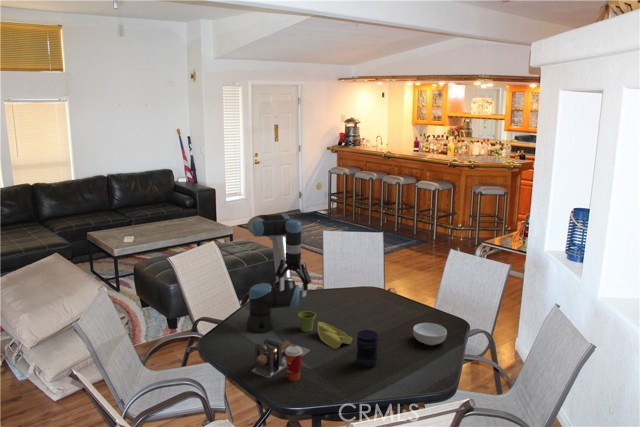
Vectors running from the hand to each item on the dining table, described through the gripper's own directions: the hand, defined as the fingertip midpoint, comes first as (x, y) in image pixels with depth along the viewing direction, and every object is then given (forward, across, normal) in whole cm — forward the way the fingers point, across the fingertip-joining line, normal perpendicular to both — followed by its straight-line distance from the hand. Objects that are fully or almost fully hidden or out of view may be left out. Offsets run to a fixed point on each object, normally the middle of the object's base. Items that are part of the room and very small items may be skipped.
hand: (292, 293), depth 273 cm
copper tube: (+22, +7, -24) cm, 33 cm away
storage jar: (+27, +41, +3) cm, 49 cm away
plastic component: (+27, +15, +15) cm, 34 cm away
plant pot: (+27, -3, +17) cm, 32 cm away
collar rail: (+27, +7, -18) cm, 33 cm away
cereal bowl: (+27, +56, +42) cm, 75 cm away
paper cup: (+27, +21, -27) cm, 44 cm away
